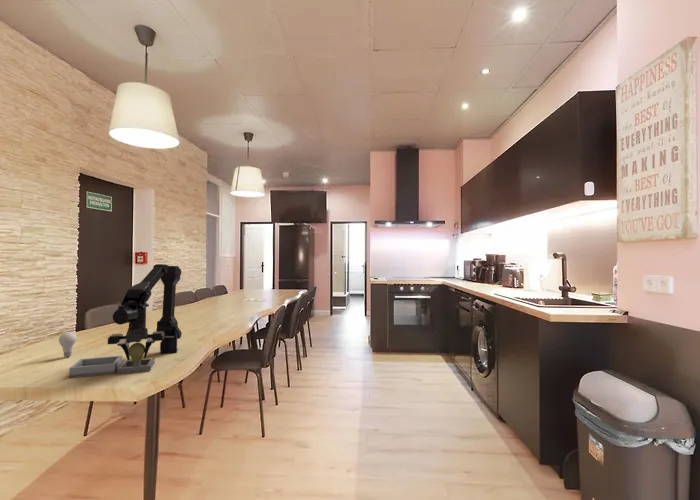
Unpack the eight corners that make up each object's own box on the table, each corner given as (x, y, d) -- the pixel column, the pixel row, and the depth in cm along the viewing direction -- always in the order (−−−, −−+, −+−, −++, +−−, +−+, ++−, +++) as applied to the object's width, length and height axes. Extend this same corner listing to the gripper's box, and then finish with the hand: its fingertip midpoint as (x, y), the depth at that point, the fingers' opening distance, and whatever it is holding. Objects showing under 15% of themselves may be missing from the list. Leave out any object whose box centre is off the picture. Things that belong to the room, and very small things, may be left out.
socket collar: (154, 362, 146) (154, 357, 146) (150, 370, 135) (150, 365, 136) (123, 365, 142) (123, 360, 142) (116, 374, 131) (117, 368, 131)
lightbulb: (77, 357, 152) (78, 332, 153) (59, 360, 148) (60, 334, 148) (74, 354, 157) (75, 329, 157) (57, 357, 152) (57, 332, 152)
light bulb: (137, 371, 135) (137, 344, 135) (124, 370, 136) (125, 344, 137) (148, 366, 141) (148, 341, 141) (136, 365, 142) (136, 340, 142)
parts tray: (122, 364, 144) (122, 355, 144) (114, 373, 132) (114, 364, 132) (80, 367, 138) (80, 359, 138) (69, 377, 127) (69, 368, 127)
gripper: (103, 325, 128) (102, 368, 128) (161, 321, 135) (160, 362, 135) (111, 319, 138) (110, 359, 138) (165, 317, 145) (164, 354, 145)
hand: (136, 359), depth 139 cm, fingers closed on light bulb, 5 cm apart
